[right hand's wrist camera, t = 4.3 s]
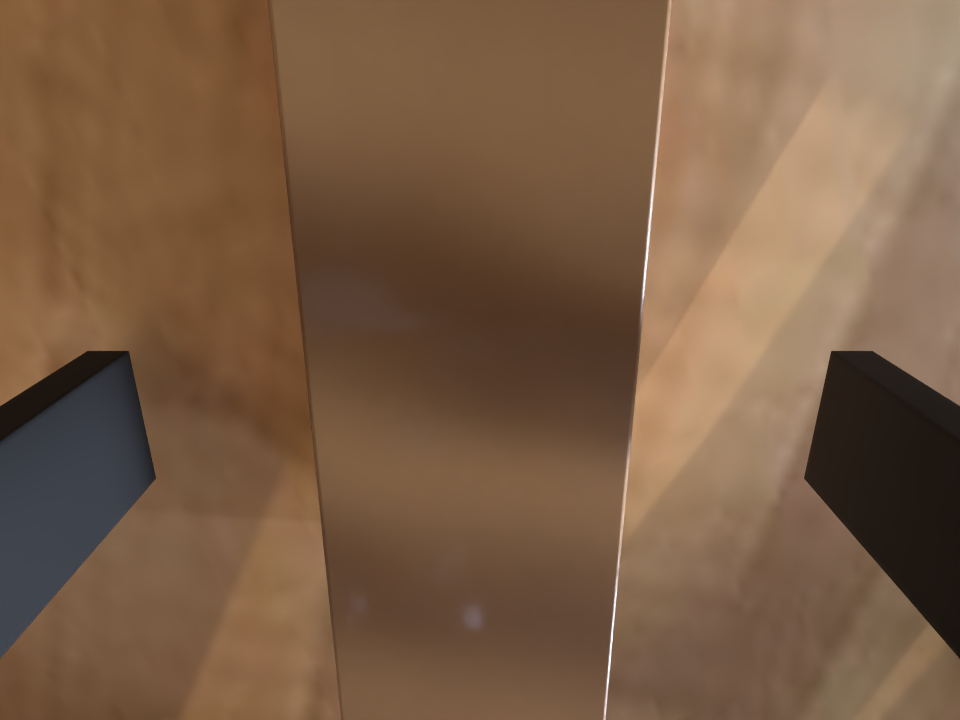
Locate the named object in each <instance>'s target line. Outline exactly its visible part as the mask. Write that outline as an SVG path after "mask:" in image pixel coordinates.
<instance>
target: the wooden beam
mask: <svg viewBox="0 0 960 720" xmlns="http://www.w3.org/2000/svg"><path fill="white" fill-rule="evenodd" d="M671 4H672V0H268V7H269V17H270V27H271V36H272V46H273V56H274V66H275V75H276V85H277V95H278V105H279V115H280V124H281V134H282V144H283V154H284V163H285V173H286V183H287V193H288V203H289V212H290V222H291V232H292V242H293V251H294V261H295V271H296V281H297V290H298V300H299V310H300V320H301V330H302V339H303V349H304V359H305V369H306V378H307V388H308V398H309V408H310V418H311V427H312V437H313V447H314V457H315V466H316V476H317V486H318V496H319V505H320V515H321V525H322V535H323V545H324V554H325V564H326V574H327V584H328V593H329V603H330V613H331V623H332V633H333V642H334V652H335V662H336V672H337V681H338V691H339V701H340V711H341V720H605V718H606V707H607V696H608V685H609V675H610V664H611V653H612V642H613V631H614V621H615V610H616V599H617V588H618V577H619V566H620V556H621V545H622V534H623V523H624V512H625V501H626V491H627V480H628V469H629V458H630V447H631V437H632V426H633V415H634V404H635V393H636V382H637V372H638V361H639V350H640V339H641V328H642V318H643V307H644V296H645V285H646V274H647V263H648V253H649V242H650V231H651V220H652V209H653V199H654V188H655V177H656V166H657V155H658V144H659V134H660V123H661V112H662V101H663V90H664V80H665V69H666V58H667V47H668V36H669V25H670V15H671Z"/></svg>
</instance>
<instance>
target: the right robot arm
mask: <svg viewBox="0 0 960 720" xmlns="http://www.w3.org/2000/svg"><path fill="white" fill-rule="evenodd" d="M155 479H156V477H155V472H154V467H153V463H152V458H151V453H150V449H149V444H148V439H147V435H146V430H145V425H144V421H143V416H142V411H141V407H140V402H139V397H138V393H137V388H136V383H135V379H134V374H133V369H132V365H131V360H130V355H129V351H87V352H85V353H84V354H82V355H81V356H79V357H78V358H76V359H74V360H73V361H71V362H70V363H68V364H66V365H65V366H63V367H62V368H60V369H58V370H57V371H55V372H54V373H52V374H51V375H49V376H47V377H46V378H44V379H43V380H41V381H39V382H38V383H36V384H35V385H33V386H32V387H30V388H28V389H27V390H25V391H24V392H22V393H20V394H19V395H17V396H16V397H14V398H13V399H11V400H9V401H8V402H6V403H5V404H3V405H1V406H0V658H1V657H2V656H3V655H4V653H5V652H6V651H7V650H8V649H9V648H10V647H11V645H12V644H13V643H14V642H15V641H16V640H17V638H18V637H19V636H20V635H21V634H22V633H23V632H24V630H25V629H26V628H27V627H28V626H29V625H30V623H31V622H32V621H33V620H34V619H35V618H36V616H37V615H38V614H39V613H40V612H41V611H42V610H43V608H44V607H45V606H46V605H47V604H48V603H49V601H50V600H51V599H52V598H53V597H54V596H55V595H56V593H57V592H58V591H59V590H60V589H61V588H62V586H63V585H64V584H65V583H66V582H67V581H68V579H69V578H70V577H71V576H72V575H73V574H74V573H75V571H76V570H77V569H78V568H79V567H80V566H81V564H82V563H83V562H84V561H85V560H86V559H87V557H88V556H89V555H90V554H91V553H92V552H93V551H94V549H95V548H96V547H97V546H98V545H99V544H100V542H101V541H102V540H103V539H104V538H105V537H106V536H107V534H108V533H109V532H110V531H111V530H112V529H113V527H114V526H115V525H116V524H117V523H118V522H119V520H120V519H121V518H122V517H123V516H124V515H125V514H126V512H127V511H128V510H129V509H130V508H131V507H132V505H133V504H134V503H135V502H136V501H137V500H138V499H139V497H140V496H141V495H142V494H143V493H144V492H145V490H146V489H147V488H148V487H149V486H150V485H151V483H152V482H153V481H154V480H155ZM804 479H805V480H806V481H807V482H808V483H809V485H810V486H811V487H812V488H813V489H814V490H815V492H816V493H817V494H818V495H819V496H820V497H821V499H822V500H823V501H824V502H825V503H826V504H827V505H828V507H829V508H830V509H831V510H832V511H833V512H834V514H835V515H836V516H837V517H838V518H839V519H840V520H841V522H842V523H843V524H844V525H845V526H846V527H847V529H848V530H849V531H850V532H851V533H852V534H853V536H854V537H855V538H856V539H857V540H858V541H859V542H860V544H861V545H862V546H863V547H864V548H865V549H866V551H867V552H868V553H869V554H870V555H871V556H872V557H873V559H874V560H875V561H876V562H877V563H878V564H879V566H880V567H881V568H882V569H883V570H884V571H885V573H886V574H887V575H888V576H889V577H890V578H891V579H892V581H893V582H894V583H895V584H896V585H897V586H898V588H899V589H900V590H901V591H902V592H903V593H904V595H905V596H906V597H907V598H908V599H909V600H910V601H911V603H912V604H913V605H914V606H915V607H916V608H917V610H918V611H919V612H920V613H921V614H922V615H923V616H924V618H925V619H926V620H927V621H928V622H929V623H930V625H931V626H932V627H933V628H934V629H935V630H936V632H937V633H938V634H939V635H940V636H941V637H942V638H943V640H944V641H945V642H946V643H947V644H948V645H949V647H950V648H951V649H952V650H953V651H954V652H955V653H956V655H957V656H958V657H959V658H960V406H959V405H957V404H955V403H954V402H952V401H951V400H949V399H947V398H946V397H944V396H943V395H941V394H940V393H938V392H936V391H935V390H933V389H932V388H930V387H928V386H927V385H925V384H924V383H922V382H921V381H919V380H917V379H916V378H914V377H913V376H911V375H909V374H908V373H906V372H905V371H903V370H902V369H900V368H898V367H897V366H895V365H894V364H892V363H890V362H889V361H887V360H886V359H884V358H882V357H881V356H879V355H878V354H876V353H875V352H873V351H831V355H830V360H829V365H828V369H827V374H826V379H825V383H824V388H823V393H822V397H821V402H820V407H819V411H818V416H817V421H816V425H815V430H814V435H813V439H812V444H811V449H810V453H809V458H808V463H807V467H806V472H805V477H804Z"/></svg>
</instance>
